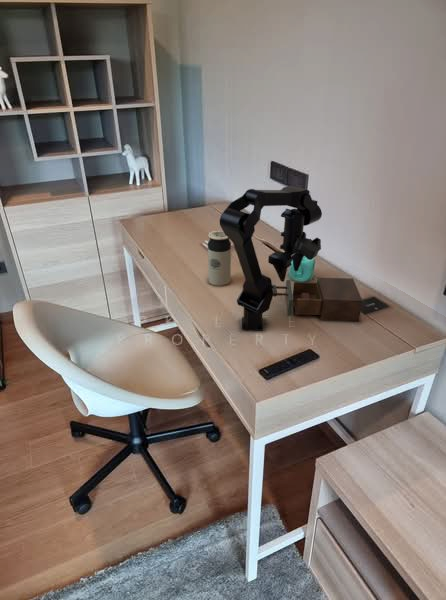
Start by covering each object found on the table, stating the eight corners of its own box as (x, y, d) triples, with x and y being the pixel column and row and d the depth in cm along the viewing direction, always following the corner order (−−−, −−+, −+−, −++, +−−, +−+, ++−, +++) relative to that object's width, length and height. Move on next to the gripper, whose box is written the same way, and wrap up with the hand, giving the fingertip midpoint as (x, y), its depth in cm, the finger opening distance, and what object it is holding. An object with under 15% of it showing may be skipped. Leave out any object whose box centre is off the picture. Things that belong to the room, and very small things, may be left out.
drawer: (272, 315, 134) (273, 299, 131) (270, 294, 145) (271, 279, 142) (321, 317, 133) (324, 300, 130) (316, 295, 144) (318, 280, 141)
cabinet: (320, 320, 133) (323, 299, 129) (314, 297, 145) (317, 277, 142) (358, 321, 132) (362, 300, 128) (349, 298, 145) (352, 278, 141)
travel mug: (218, 274, 160) (218, 228, 151) (234, 280, 156) (235, 233, 147) (204, 281, 155) (203, 235, 146) (220, 288, 151) (220, 240, 142)
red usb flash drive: (309, 309, 134) (310, 300, 133) (302, 309, 134) (303, 300, 133) (306, 296, 142) (307, 287, 140) (299, 295, 142) (300, 286, 140)
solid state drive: (388, 307, 140) (389, 306, 140) (365, 315, 136) (366, 313, 136) (373, 298, 146) (374, 296, 145) (350, 305, 142) (351, 303, 141)
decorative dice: (313, 274, 160) (316, 254, 156) (310, 283, 154) (312, 263, 150) (292, 271, 163) (294, 251, 159) (288, 280, 156) (289, 260, 152)
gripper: (303, 245, 117) (298, 294, 125) (331, 226, 130) (325, 272, 138) (268, 236, 123) (265, 284, 131) (298, 218, 136) (294, 263, 144)
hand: (289, 275), depth 136 cm, fingers open, 9 cm apart
